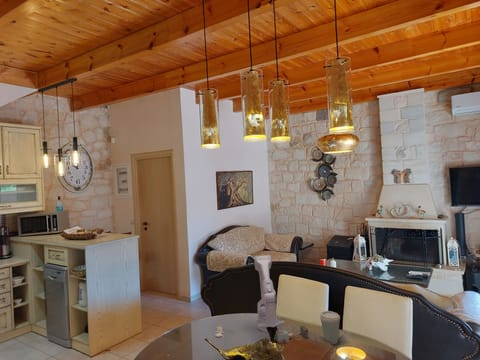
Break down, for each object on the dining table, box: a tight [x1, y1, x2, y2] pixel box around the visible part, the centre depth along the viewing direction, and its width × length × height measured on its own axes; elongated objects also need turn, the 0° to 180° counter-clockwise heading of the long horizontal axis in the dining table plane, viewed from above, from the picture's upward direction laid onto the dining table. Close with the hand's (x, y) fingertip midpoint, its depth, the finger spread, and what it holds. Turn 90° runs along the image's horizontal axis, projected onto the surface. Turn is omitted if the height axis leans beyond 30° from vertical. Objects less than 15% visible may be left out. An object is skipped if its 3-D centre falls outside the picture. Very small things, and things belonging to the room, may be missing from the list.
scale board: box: [274, 325, 309, 344], centre depth 184 cm, size 18×12×6 cm, turn 104°
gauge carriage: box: [275, 330, 294, 344], centre depth 182 cm, size 9×7×4 cm
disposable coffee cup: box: [319, 310, 341, 345], centre depth 181 cm, size 11×11×15 cm
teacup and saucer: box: [215, 326, 223, 338], centre depth 198 cm, size 9×8×4 cm
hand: (272, 340), depth 181 cm, fingers closed
